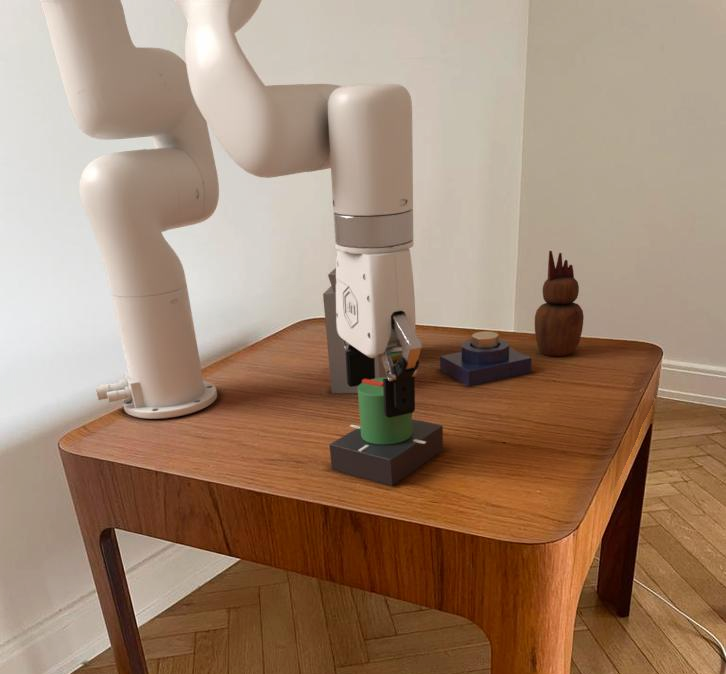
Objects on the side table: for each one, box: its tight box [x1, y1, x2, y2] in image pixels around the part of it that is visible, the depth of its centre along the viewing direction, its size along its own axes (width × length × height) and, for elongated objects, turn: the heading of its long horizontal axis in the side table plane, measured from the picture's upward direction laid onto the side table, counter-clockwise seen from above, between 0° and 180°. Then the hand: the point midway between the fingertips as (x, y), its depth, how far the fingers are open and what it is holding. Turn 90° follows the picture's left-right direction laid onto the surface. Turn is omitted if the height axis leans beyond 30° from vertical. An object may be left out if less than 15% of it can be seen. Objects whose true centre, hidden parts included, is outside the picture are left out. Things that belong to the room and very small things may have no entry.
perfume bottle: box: [322, 267, 387, 394], centre depth 100 cm, size 7×7×18 cm
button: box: [471, 331, 499, 349], centre depth 103 cm, size 4×4×2 cm
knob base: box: [329, 417, 444, 487], centre depth 81 cm, size 10×10×3 cm
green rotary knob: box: [357, 377, 413, 445], centre depth 79 cm, size 6×6×6 cm
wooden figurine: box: [534, 250, 585, 358], centre depth 107 cm, size 7×6×15 cm
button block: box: [439, 338, 532, 387], centre depth 105 cm, size 10×8×4 cm
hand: (379, 398), depth 79 cm, fingers open, 9 cm apart
